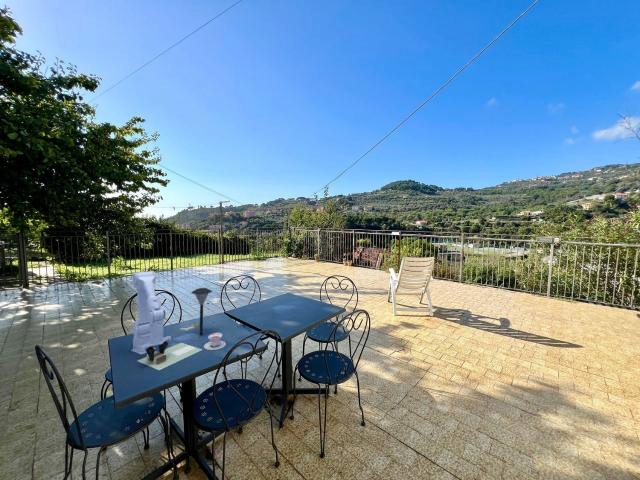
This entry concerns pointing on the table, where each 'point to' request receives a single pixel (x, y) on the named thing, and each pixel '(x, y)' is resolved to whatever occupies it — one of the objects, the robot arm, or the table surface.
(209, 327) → the table surface
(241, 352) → the table surface
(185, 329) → the smartphone
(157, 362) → the brown-topped white block
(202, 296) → the solar garden light
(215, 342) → the teacup
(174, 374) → the table surface
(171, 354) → the mat
